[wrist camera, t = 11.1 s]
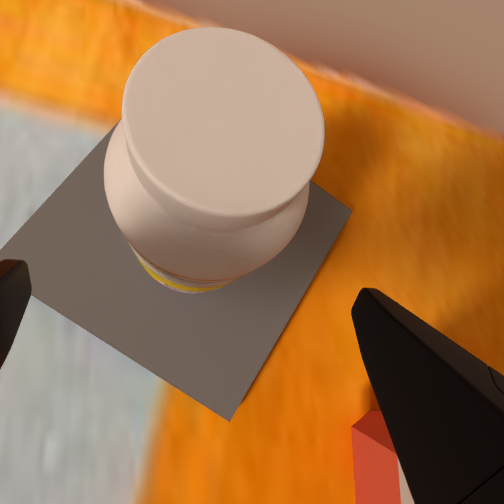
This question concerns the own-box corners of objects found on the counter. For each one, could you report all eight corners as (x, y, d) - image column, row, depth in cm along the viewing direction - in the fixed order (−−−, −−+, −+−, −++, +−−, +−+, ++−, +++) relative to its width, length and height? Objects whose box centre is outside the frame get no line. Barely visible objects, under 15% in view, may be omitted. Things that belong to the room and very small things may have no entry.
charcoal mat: (343, 216, 24) (352, 211, 23) (225, 415, 20) (229, 421, 19) (164, 84, 23) (164, 72, 21) (-3, 269, 18) (-14, 265, 17)
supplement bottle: (207, 164, 21) (262, -49, 9) (270, 252, 21) (415, 162, 9) (109, 222, 19) (0, 52, 7) (178, 319, 19) (196, 326, 7)
